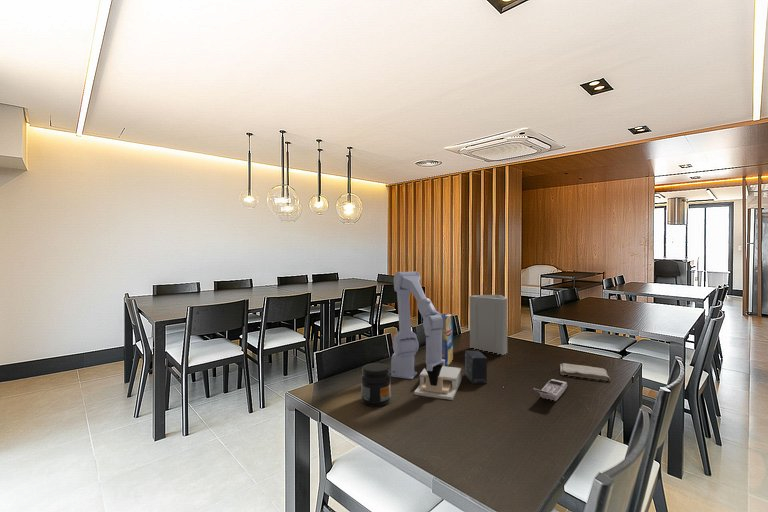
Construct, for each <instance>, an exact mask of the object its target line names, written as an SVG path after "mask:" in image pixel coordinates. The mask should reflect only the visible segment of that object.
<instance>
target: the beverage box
mask: <svg viewBox="0 0 768 512" xmlns="http://www.w3.org/2000/svg"><path fill="white" fill-rule="evenodd" d="M441 314H442V315H443V317H444V319H445V327H444V329H442V359H443V360H445V363H442V364H443V366H446V367H449V365H450V364H451V363H452V362H453V361H454V353H453V352H454V319H453V318H454V316H453V315H454V314H450V313H449V314H448V313H441ZM452 360H453V361H452Z"/></svg>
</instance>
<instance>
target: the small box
mask: <svg viewBox="0 0 768 512" xmlns="http://www.w3.org/2000/svg"><path fill="white" fill-rule="evenodd" d="M487 372H488V357H486V356H485V355H484V354H483V353H482V351H479V350H464V376H465V377H466V378H467V380H468V382H470V383H471V384H472V385H474V384H475V385H476V384H478V385H479V384H482V385H483V384H484V385H485V384H487V382H488V381H487V379H488V377H487V375H488V373H487Z"/></svg>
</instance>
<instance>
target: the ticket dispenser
mask: <svg viewBox="0 0 768 512" xmlns="http://www.w3.org/2000/svg"><path fill="white" fill-rule="evenodd" d="M462 373H463V372H462V367H455V366H447V367H446V366H442V368H441V371H440V375H439V376H442V377H443V380H450V381H452V386H451V388H450V390H449V392H448V393H443V392H442V393H439V392H432V391H426V390H421V386H422V385H423V384H424V382H425V381H426V375H428V373H427V371H426V369H425V367H424V368H423V369H422V371H421V372H420V374H418V376H419V385H418V386H417V388H416V389H415V390H414V392H413V395H416V396H423V397H430V398H435V399H442V400H449V401H453V400H454V398H455V395H456V393H457V391H458V388H459V387H460V385H461V382H462V380H463V379H462Z"/></svg>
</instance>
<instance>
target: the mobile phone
mask: <svg viewBox="0 0 768 512" xmlns="http://www.w3.org/2000/svg"><path fill="white" fill-rule="evenodd" d="M567 387H568V383H567V381H563V380H557V379H553V378H552V379H550V380H549V381H547V382H546V384H545V385H544V386H543V388H541V389H538V388H535V387H533V390H534V391H536V392H537V393H538V394H539V395H540V398H541V397H542V399H545V398H546V399H545V400H548V399H550V401H552V400H554V401H553V402H557V401H558V399H559V398H560V397H562V395H563V394H564V392H565V391H566V390H567V389H568V388H567Z"/></svg>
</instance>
